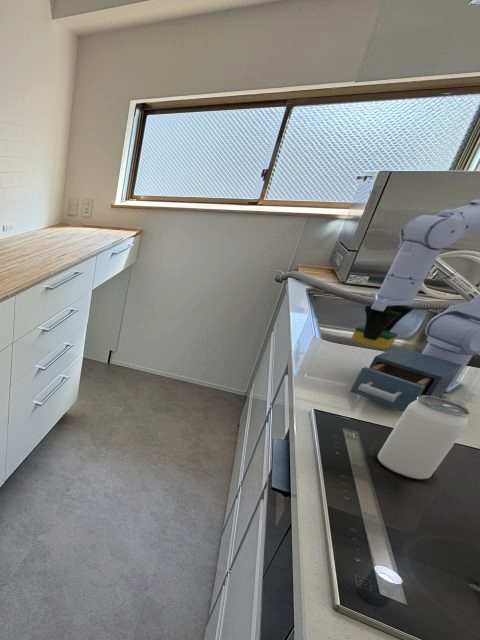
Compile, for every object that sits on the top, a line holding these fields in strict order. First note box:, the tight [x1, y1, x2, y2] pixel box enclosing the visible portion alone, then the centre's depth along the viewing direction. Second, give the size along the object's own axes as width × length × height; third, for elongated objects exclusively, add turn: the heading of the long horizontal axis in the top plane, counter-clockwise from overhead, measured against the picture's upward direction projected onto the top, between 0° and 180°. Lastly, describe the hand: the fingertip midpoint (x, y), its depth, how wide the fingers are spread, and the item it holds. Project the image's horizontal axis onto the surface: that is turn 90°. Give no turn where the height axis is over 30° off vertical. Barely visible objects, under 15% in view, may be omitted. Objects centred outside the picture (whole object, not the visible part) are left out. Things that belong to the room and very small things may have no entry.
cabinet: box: [368, 346, 462, 398], centre depth 90 cm, size 13×11×8 cm
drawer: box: [349, 363, 434, 413], centre depth 85 cm, size 16×9×6 cm, turn 120°
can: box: [377, 396, 471, 480], centre depth 65 cm, size 6×6×12 cm
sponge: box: [350, 324, 398, 350], centre depth 92 cm, size 6×4×3 cm, turn 29°
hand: (373, 337), depth 92 cm, fingers closed on sponge, 4 cm apart
